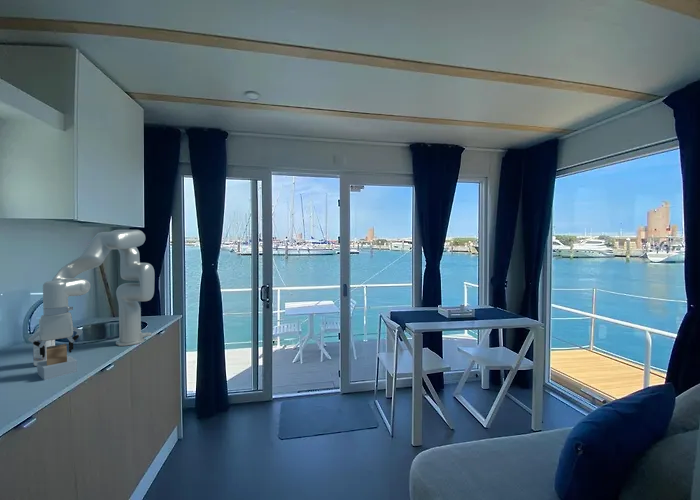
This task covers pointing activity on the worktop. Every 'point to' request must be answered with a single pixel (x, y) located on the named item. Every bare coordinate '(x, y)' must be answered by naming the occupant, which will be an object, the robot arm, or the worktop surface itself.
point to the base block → (56, 368)
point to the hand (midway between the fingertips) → (57, 353)
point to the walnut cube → (56, 354)
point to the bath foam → (36, 349)
